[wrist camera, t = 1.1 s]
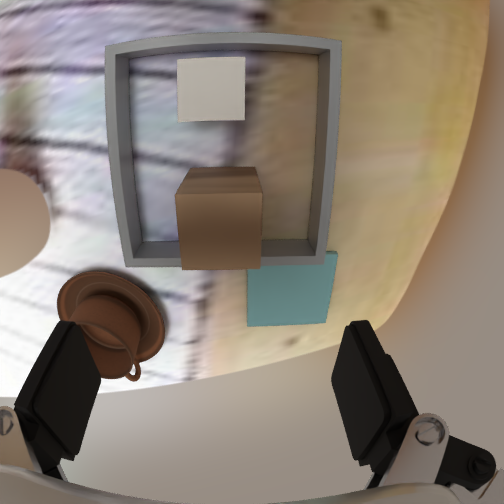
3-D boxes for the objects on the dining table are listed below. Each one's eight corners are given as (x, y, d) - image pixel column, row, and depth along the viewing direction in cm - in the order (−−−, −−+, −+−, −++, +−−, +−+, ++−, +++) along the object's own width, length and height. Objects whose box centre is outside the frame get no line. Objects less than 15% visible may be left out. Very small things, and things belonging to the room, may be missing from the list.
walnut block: (190, 167, 23) (174, 194, 17) (254, 166, 24) (262, 193, 17) (194, 226, 26) (181, 270, 19) (253, 225, 26) (260, 269, 20)
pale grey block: (188, 67, 20) (177, 59, 15) (242, 66, 20) (245, 56, 15) (189, 117, 21) (177, 122, 17) (242, 116, 22) (244, 120, 17)
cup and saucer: (191, 315, 30) (184, 360, 25) (130, 365, 34) (119, 405, 28) (95, 239, 26) (67, 274, 20) (49, 307, 29) (26, 343, 24)
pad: (247, 252, 27) (247, 255, 26) (336, 251, 27) (337, 254, 27) (247, 322, 31) (247, 326, 30) (324, 319, 31) (325, 322, 31)
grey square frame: (119, 51, 18) (105, 46, 16) (328, 46, 19) (341, 40, 16) (135, 249, 26) (125, 267, 24) (315, 247, 27) (324, 264, 24)
